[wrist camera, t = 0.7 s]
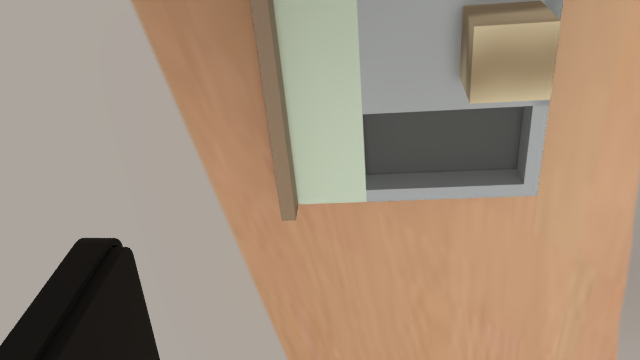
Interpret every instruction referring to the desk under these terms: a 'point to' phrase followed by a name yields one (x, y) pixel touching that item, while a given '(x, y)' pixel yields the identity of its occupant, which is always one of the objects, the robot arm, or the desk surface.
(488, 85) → the maple block
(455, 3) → the board
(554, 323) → the desk surface
